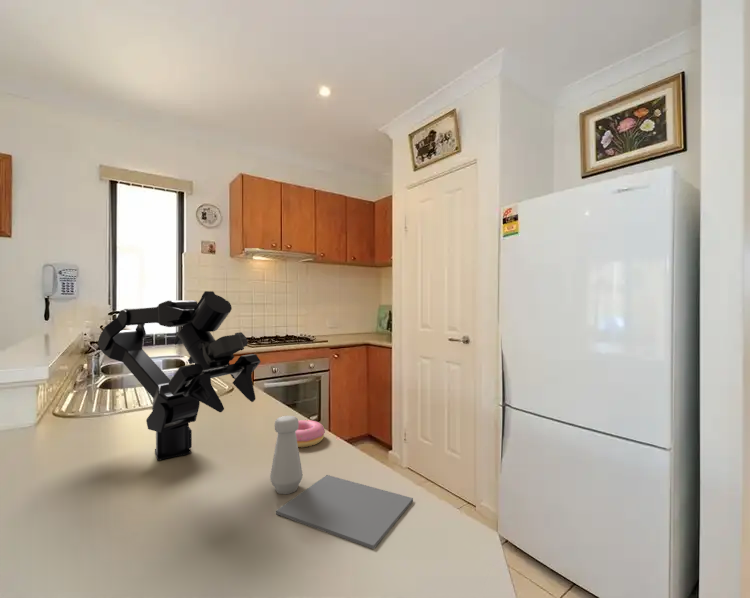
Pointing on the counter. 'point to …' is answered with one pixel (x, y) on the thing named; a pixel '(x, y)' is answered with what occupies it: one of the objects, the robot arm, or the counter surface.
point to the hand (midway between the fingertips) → (238, 405)
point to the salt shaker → (286, 456)
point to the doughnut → (309, 433)
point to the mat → (347, 510)
